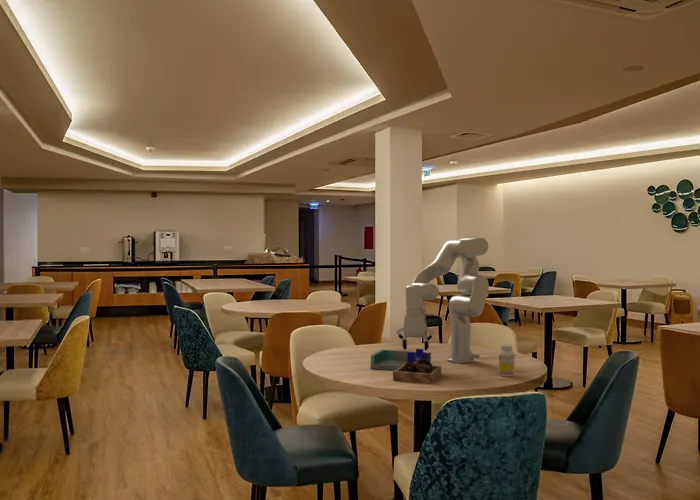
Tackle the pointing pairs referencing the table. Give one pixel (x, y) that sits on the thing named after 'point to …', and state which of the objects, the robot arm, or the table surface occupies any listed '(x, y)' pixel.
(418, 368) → the brown looped piece
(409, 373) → the wooden tray
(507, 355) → the supplement bottle
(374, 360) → the grey teal tray
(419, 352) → the blue arch block
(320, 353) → the table surface
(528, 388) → the table surface
